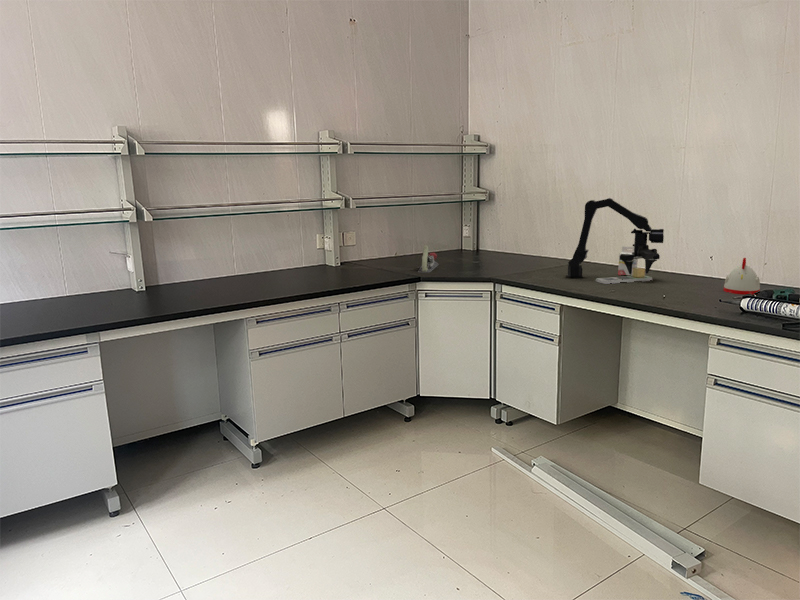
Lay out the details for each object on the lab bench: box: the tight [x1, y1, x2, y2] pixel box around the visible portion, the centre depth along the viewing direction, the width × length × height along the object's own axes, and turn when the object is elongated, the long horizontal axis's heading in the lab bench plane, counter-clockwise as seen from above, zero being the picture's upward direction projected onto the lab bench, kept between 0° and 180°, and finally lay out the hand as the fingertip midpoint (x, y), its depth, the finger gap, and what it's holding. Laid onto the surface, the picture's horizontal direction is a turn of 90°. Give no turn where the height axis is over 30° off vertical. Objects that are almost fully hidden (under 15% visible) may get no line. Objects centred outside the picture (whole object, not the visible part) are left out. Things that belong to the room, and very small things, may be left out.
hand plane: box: [417, 244, 440, 274], centre depth 344 cm, size 7×31×15 cm, turn 166°
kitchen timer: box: [723, 257, 761, 295], centre depth 261 cm, size 14×14×15 cm
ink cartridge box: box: [617, 246, 639, 276], centre depth 307 cm, size 9×5×15 cm, turn 57°
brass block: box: [632, 267, 646, 278], centre depth 294 cm, size 4×4×6 cm
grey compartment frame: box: [595, 275, 653, 285], centre depth 293 cm, size 26×8×2 cm, turn 102°
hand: (638, 273), depth 294 cm, fingers open, 9 cm apart
